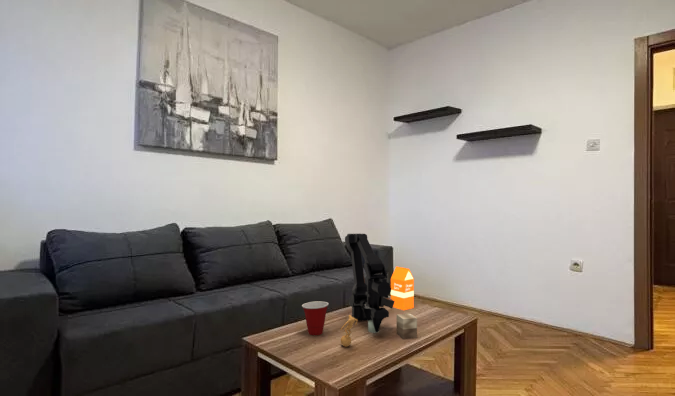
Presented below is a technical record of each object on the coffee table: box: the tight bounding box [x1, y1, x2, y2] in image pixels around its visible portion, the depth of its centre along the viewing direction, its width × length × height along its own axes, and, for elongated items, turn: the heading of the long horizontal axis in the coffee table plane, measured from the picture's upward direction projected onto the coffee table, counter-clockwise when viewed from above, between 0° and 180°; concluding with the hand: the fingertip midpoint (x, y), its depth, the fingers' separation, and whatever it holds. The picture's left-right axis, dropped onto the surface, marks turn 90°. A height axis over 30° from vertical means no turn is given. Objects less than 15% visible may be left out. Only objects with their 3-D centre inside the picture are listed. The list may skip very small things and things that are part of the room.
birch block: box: [396, 312, 418, 329], centre depth 153 cm, size 6×6×4 cm
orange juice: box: [390, 265, 415, 311], centre depth 193 cm, size 8×9×20 cm
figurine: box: [340, 314, 359, 348], centre depth 140 cm, size 8×6×12 cm
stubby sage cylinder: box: [367, 320, 380, 334], centre depth 158 cm, size 5×5×4 cm
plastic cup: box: [301, 300, 329, 336], centre depth 155 cm, size 11×11×12 cm
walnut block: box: [396, 324, 418, 340], centre depth 153 cm, size 6×6×4 cm
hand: (373, 328), depth 158 cm, fingers open, 8 cm apart
